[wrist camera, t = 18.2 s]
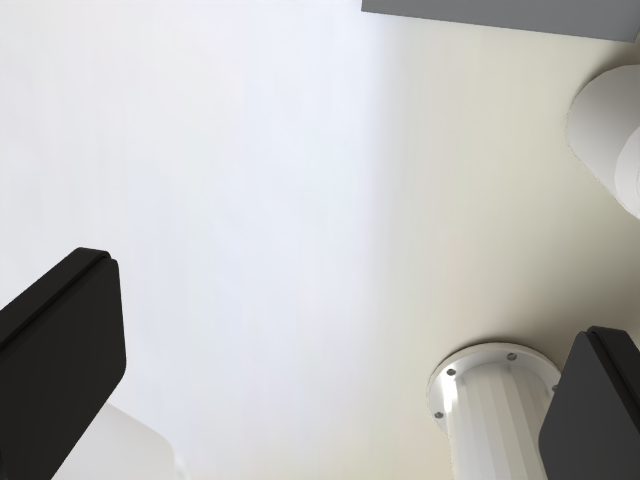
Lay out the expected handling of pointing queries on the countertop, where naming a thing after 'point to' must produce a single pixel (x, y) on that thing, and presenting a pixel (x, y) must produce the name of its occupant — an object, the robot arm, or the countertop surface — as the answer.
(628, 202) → the can
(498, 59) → the countertop surface
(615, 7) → the mat
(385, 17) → the countertop surface
